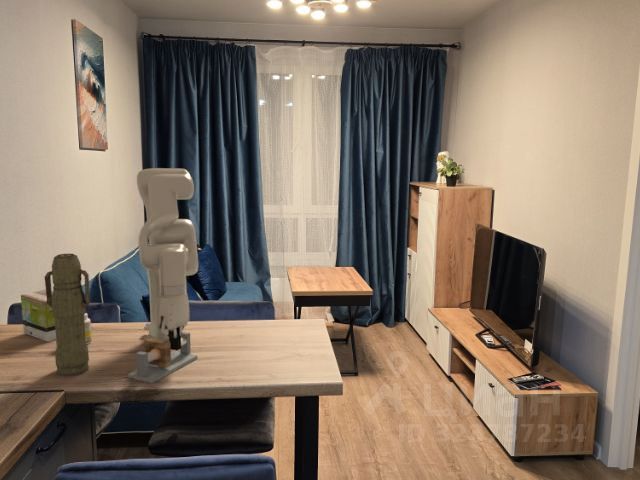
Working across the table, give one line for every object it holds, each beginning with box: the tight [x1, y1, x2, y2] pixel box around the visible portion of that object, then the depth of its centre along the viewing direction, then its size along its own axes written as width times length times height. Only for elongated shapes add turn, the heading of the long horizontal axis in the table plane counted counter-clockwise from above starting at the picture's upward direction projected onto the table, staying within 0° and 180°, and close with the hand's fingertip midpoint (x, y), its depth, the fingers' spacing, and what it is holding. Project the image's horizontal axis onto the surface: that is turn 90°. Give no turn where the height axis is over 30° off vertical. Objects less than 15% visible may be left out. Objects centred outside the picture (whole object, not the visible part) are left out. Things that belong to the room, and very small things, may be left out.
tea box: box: [20, 289, 56, 343], centre depth 186 cm, size 15×10×15 cm
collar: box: [144, 338, 172, 368], centre depth 156 cm, size 8×2×7 cm, turn 66°
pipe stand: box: [127, 331, 198, 384], centre depth 159 cm, size 9×21×8 cm, turn 156°
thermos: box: [44, 253, 91, 377], centre depth 154 cm, size 9×12×35 cm
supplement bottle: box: [84, 312, 92, 345], centre depth 179 cm, size 6×6×10 cm
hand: (175, 348), depth 158 cm, fingers closed
